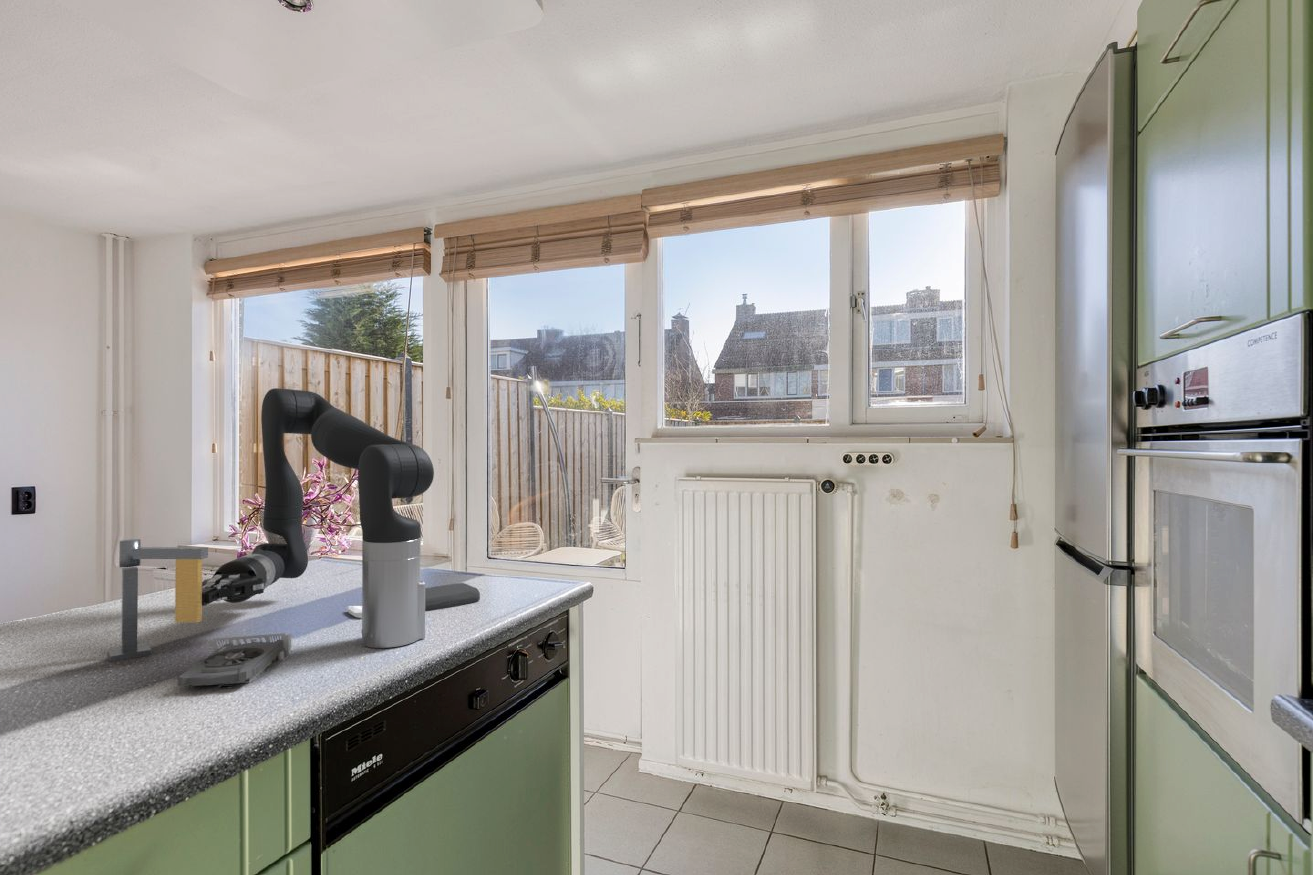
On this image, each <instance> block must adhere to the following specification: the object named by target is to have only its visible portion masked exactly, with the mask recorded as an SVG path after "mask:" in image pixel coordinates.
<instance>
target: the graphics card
mask: <svg viewBox="0 0 1313 875" xmlns="http://www.w3.org/2000/svg"><path fill="white" fill-rule="evenodd" d="M262 638H264V640H265V641H263V640H262ZM248 639H249V640H250V642H248ZM257 639H259V640H260V641H257ZM240 640H242V641H243V643H241V641H240ZM234 641H236V643H237V644H235V643H234ZM207 648H209V649H210V648H212V649H213V651H210V652H209V651H208V652H207V656H206V657H205V658H203V659H202V660H200V661H199V662H198V663H196V664H195V665H194V666H192V667H191V668H189V669H188V670H186V671H185V672H183V673H182V674H181V675H179V676H178V677H177V686H178V687H180V688H182V687H185V686H194V687H197V686H198V687H199V686H200V687H202V686H215V685H220V686H219V689H225V688H233V687H234V685H231V684H248V683H251V682H252V681H253V680H254V679H256V678H257V677H258V676H259V675H261V673H262V672H264V670H266V669H267V668H268V674H271V673H272V672H273V671H274V670H275V669H277V667H278V666H279V665H281V664H282V663H284V661H285V660H287V658H288V657H290V655H291V653H292V632H290V633H289V634H286V633H284V632H283V633H270V634H257V635H256V634H255V635H254V634H253V635H243V636H229V637H217V638H215V637H214V638H213V640H211V641H207Z"/></svg>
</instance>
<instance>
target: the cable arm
mask: <svg viewBox="0 0 1313 875" xmlns="http://www.w3.org/2000/svg"><path fill="white" fill-rule="evenodd" d="M141 541H142V540H141V539H139V538H138V539H137V538H135V539H133V538H132V539H123V540H119V550H118V552H119V559H118V560H119V561H118V562H119V563H118V564H119V568H129V567H139V566H141V560H175V570H174V571H175V580H174V581H175V583H174V584H175V586H174V587H175V590H174V593H175V594H174V597H175V598H174V599H175V600H174V602H175V603H174V604H175V605H174V607H175V608H174V609H175V610H174V611H175V613H174V623H200V622H202V621H203V606H202V582H203V559H208V558H209V546H208V547H206V546H205V547H202V546H201V547H199V546H197V547H196V546H195V547H194V546H193V547H192V546H190V547H188V546H187V547H185V546H175V547H174V546H169V547H168V546H164V547H163V546H162V547H161V546H157V547H156V546H152V547H151V546H147V547H146V546H145V547H143V546H142V547H141V543H142V542H141Z"/></svg>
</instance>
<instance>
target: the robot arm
mask: <svg viewBox="0 0 1313 875" xmlns="http://www.w3.org/2000/svg"><path fill="white" fill-rule="evenodd" d="M260 414H261V415H260V418H261V419H260V420H261V436H262V438H261V440H262V451H263V463H264V464H263V466H264V477H265V492H264V493H265V494H264V495H265V496H264V507H263V520H262V528H263V530H264V531H265V532H267V533H269V534H270V533H271V534H273V535H278V536H280V537H282V538H283V539H284V541H285V543H272V542H267V543H260V544H258V545H256V546H255V547H254V548H253V550H252V552H251V554H246V555H243V556H240V557H238V558H235V559H233V560H230V561H228V562H226V563H224V564H222V565H221V566H220V567H219V568H218V569H216V571H215V573H214V574H213V576H212V577H211V578H207V579H204V580H202V607H205V606H208V605H210V604H212V603H213V602H220V601H224V602H227V603H230V604H232V603H233V604H239V603H243V602H246V601H248V600H249V599H251V598H252V597H253V598H254V597H255V596H256V595H261V594H263V593H265V590H266V589H267V588H268V587H270V586H271V585H273V584H274V583H276V582H277V581H278V580H279V579H296V578H299V577H301V576H302V575H303V574H304V573H305V571H307V568H308V564H309V556H308V551H307V546H306V543H305V542H306V541H305V539H304V532H303V526H302V525H303V523H302V521H303V520H302V519H303V508H304V490H303V487H302V484H301V482H300V480H299V477H298V476H297V473H296V472H295V471H294V470H293V469H294V468H293V467H292V465H291V464H290V462H289V460H288V457H287V456H286V452H285V448H284V440H283V439H284V434H295V435H296V434H297V435H310V438H311V439H310V440H311V443H312V446H313V447H314V448H315V450H316V451H317V452H318V453H319V454H320V455H322V456H323V457H325V458H326V459H328V460H329V461H331V463H332V462H333V463H334V464H337V465H339V466H342V467H345V468H349V469H355V470H357V487H358V488H357V489H358V500H359V503H358V504H359V522H360V527H361V533H362V539H361V540H362V541H361V542H362V543H361V544H362V545H361V546H362V547H361V550H362V551H361V552H362V553H361V554H362V555H361V558H362V560H361V563H362V564H361V569H362V572H361V574H362V575H361V606H362V618H361V644H362V646H364V647H368V648H373V649H374V648H376V649H384V648H385V649H387V648H388V649H389V648H394V647H395V648H397V647H401V646H406V645H410V644H412V643H415V642H417V641H419V640H421V639H425V638H426V611H425V588H426V583H425V581H422V580H421V579H422V578H421V572H422V571H421V570H422V569H421V561H422V560H421V559H422V558H421V556H422V555H421V553H422V552H421V546H422V542H421V540H422V539H421V538H422V526H421V523H420V521H418V520H417V519H414V518H410V517H407V516H404V515H401V514H399V513H398V512H397V511H396V510H395V509H394V505H393V500H395V499H406V498H413V497H417V496H420V495H422V494H423V493H425V492H427V491H428V489H429V488H430V487H431V485H432V483H433V481H434V477H435V469H434V464H433V462H432V459H431V458H430V456H429V454H428V453H427V452H426V451H425V450H424V449H423V448H422V447H420V446H419V445H416V444H413V443H410V442H406V441H404V440H402V439H401V440H400V439H397V438H394V437H393V436H389V435H388V434H386V433H384V432H382V431H381V430H379V429H378V428H375V427H373V426H372V425H370V424H368V423H366V422H364V421H363V420H361V419H360V418H357V417H355V416H354V415H351V414H349V413H347V412H345V411H343V410H341V409H339V408H337V407H335V406H334V405H332V403H330V402H329V401H328V400H326V399H325V398H324V396H322V395H320V394H319V393H316V392H314V391H309V390H301V389H292V388H291V389H289V388H278V387H277V388H271V389H269V390H268V391H267V392H266V393H265V395H264V398H263V399H262V405H261V413H260Z"/></svg>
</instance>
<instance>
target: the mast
mask: <svg viewBox="0 0 1313 875" xmlns="http://www.w3.org/2000/svg"><path fill="white" fill-rule="evenodd" d="M121 568H122V569H121V646H118V647H113V648H112V647H111V648H107V650H106V651H107V657H108V660H109V662H110V663H112V662H117V661H123V660H128V659H129V660H130V659H134V658H140V657H145V656H151V655H152V647H151V646H150V644H149V643H148V642H142V643H138V619H139V618H138V617H139V616H138V610H139V609H138V606H139V604H138V597H139V594H138V593H139V592H138V590H139V587H138V586H139V569H138V566H134V567H121Z"/></svg>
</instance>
